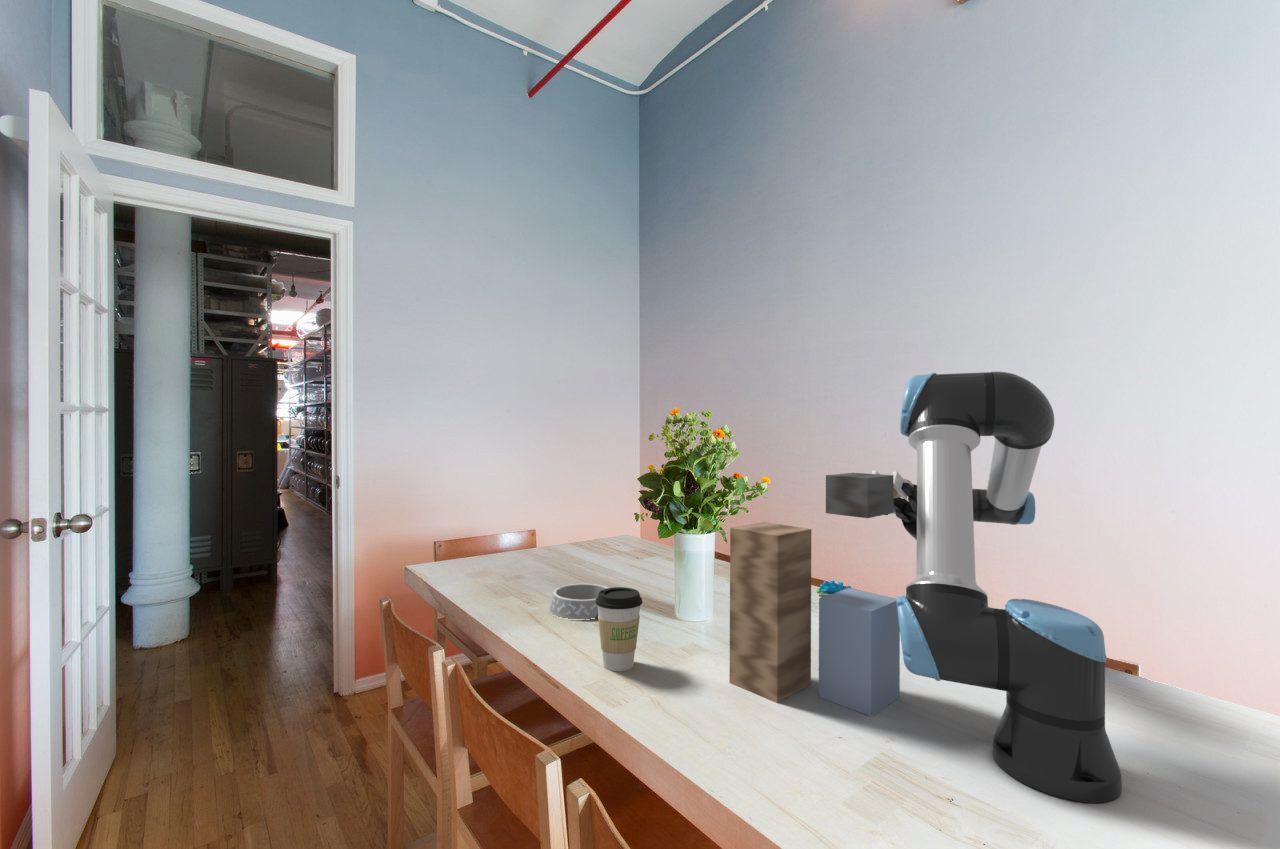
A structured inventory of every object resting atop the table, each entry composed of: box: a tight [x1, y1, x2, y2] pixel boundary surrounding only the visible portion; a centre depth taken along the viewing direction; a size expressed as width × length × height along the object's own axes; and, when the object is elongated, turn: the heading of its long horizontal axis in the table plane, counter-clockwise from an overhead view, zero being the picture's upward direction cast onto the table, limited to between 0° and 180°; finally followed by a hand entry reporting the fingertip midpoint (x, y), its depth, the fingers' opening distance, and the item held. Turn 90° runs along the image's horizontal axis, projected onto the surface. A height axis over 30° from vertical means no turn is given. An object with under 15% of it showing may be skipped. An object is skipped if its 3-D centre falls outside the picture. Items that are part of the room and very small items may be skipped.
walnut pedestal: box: [728, 521, 812, 704], centre depth 112 cm, size 11×11×30 cm
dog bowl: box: [548, 583, 609, 619], centre depth 157 cm, size 17×18×5 cm
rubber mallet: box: [825, 472, 913, 519], centre depth 111 cm, size 8×24×7 cm, turn 132°
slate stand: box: [818, 587, 901, 717], centre depth 106 cm, size 10×11×18 cm
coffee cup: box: [595, 586, 643, 672], centre depth 120 cm, size 10×10×15 cm
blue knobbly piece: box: [816, 579, 852, 598], centre depth 161 cm, size 11×6×10 cm
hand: (883, 477), depth 113 cm, fingers closed on rubber mallet, 3 cm apart
